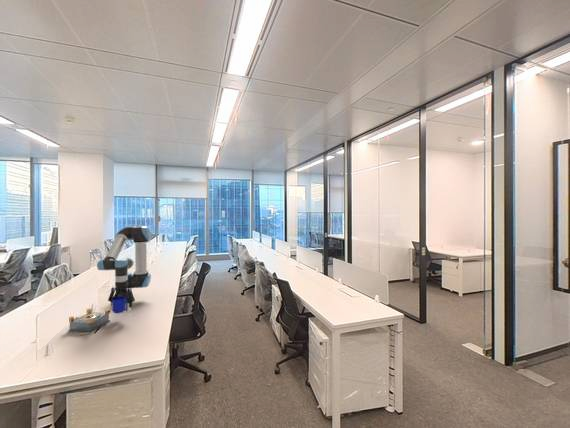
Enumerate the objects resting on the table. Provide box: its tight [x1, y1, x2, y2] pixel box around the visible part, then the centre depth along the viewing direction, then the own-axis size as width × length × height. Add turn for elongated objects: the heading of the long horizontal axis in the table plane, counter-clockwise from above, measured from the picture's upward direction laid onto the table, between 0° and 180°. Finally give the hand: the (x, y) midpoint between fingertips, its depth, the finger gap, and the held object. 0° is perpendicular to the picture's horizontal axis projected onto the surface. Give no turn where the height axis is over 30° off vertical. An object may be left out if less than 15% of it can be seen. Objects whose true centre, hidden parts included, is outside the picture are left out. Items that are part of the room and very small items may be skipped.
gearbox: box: [68, 308, 111, 334], centre depth 174 cm, size 17×18×8 cm
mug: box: [112, 296, 129, 314], centre depth 184 cm, size 8×12×10 cm
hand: (121, 311), depth 184 cm, fingers closed on mug, 11 cm apart
